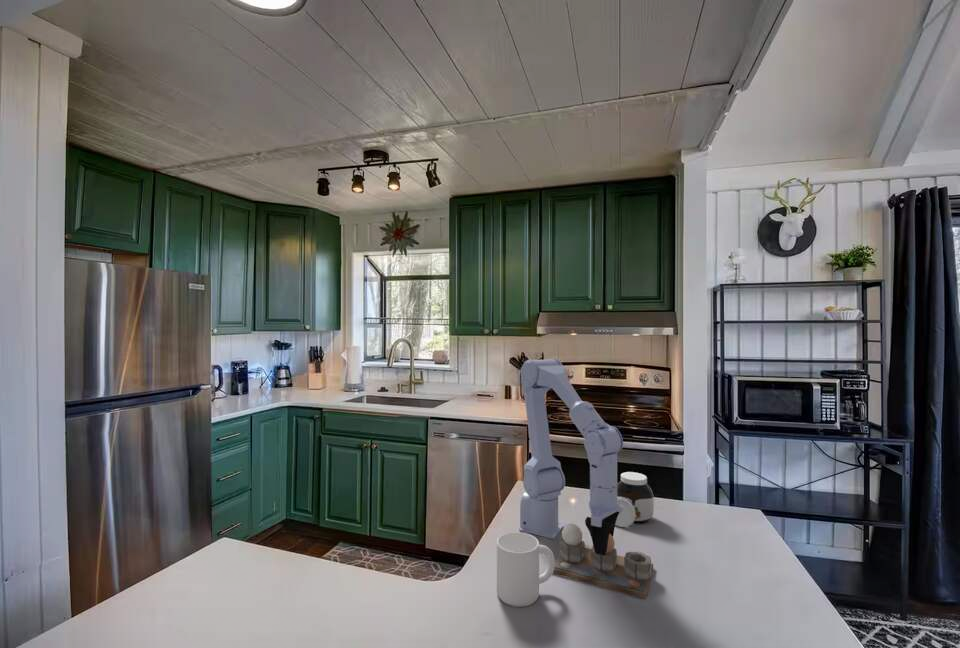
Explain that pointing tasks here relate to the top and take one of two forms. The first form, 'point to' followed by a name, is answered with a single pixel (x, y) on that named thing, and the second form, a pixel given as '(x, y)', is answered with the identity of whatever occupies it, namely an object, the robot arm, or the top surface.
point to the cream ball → (572, 534)
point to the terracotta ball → (610, 544)
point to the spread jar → (634, 499)
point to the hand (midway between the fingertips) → (603, 546)
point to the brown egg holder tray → (606, 569)
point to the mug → (520, 568)
